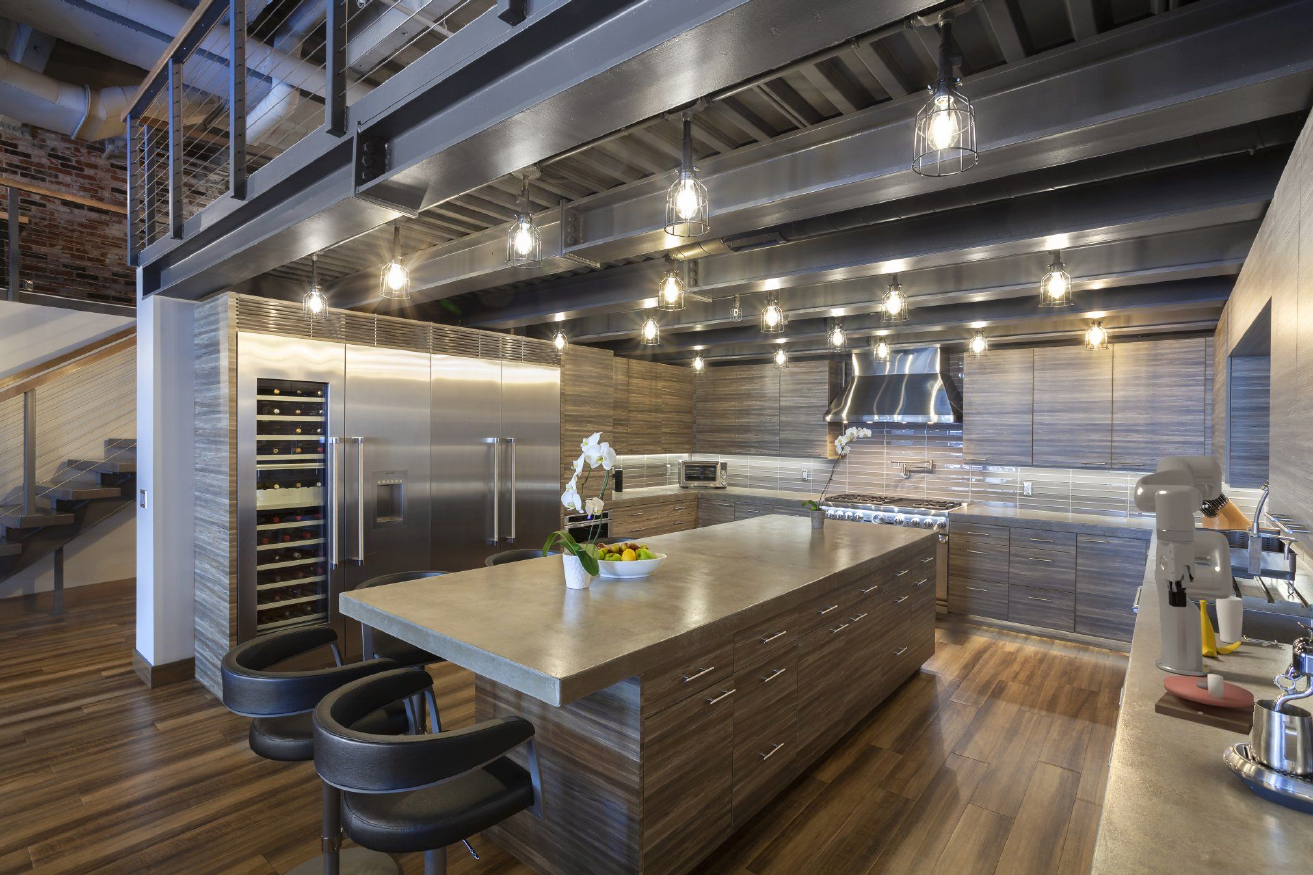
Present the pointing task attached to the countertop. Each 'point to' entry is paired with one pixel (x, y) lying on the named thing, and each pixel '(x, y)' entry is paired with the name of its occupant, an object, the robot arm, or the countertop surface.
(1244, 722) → the wheel base
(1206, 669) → the robot arm
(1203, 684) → the handwheel
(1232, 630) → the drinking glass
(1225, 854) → the countertop surface
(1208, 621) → the banana peel
